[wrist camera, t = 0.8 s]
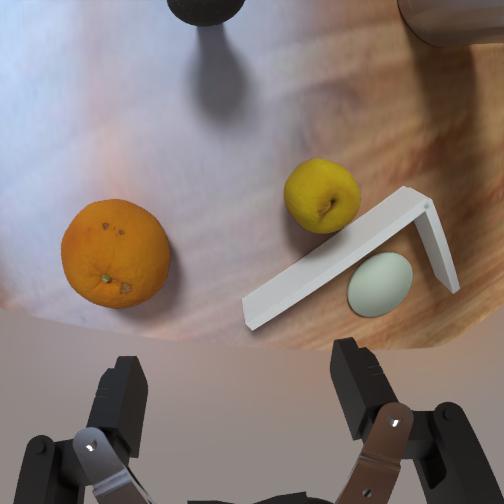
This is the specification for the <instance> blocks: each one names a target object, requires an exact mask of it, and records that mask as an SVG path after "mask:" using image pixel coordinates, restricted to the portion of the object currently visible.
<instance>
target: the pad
mask: <svg viewBox="0 0 504 504" xmlns="http://www.w3.org/2000/svg"><path fill="white" fill-rule="evenodd" d="M412 278H413V274H412V268H411V266H410V264H409V262H408V261H407V260H406V259H405V258H404V257H403V256H402V255H400V254H398V253H395V252H381V253H378V254H375V255H373V256H371V257H369V258H368V259H366V260H365V261H364V262H362V263H361V264H360V265H359V266H358V267H357V269H356V270H355V271H354V273H353V274H352V276H351V278H350V280H349V283H348V287H347V298H348V301H349V304H350V305H351V307H352V309H353V310H354V311H355V312H356V313H358V314H359V315H362V316H366V317H376V316H380V315H383V314H386V313H388V312H390V311H391V310H393V309H394V308H395V307H397V306H398V305H399V304H400V303H401V302H402V301H403V299H404V298H405V297H406V295H407V293H408V292H409V289H410V287H411V284H412Z"/></svg>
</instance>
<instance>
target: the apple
mask: <svg viewBox="0 0 504 504" xmlns="http://www.w3.org/2000/svg"><path fill="white" fill-rule="evenodd" d="M284 200H285V204H286V206H287V208H288V210H289V212H290V213H291V215H292V216H293V217H294V218H295V220H296V221H297V222H298V223H299V224H300V225H301V226H302V227H304V228H305V229H307V230H308V231H311V232H314V233H321V234H325V233H331V232H335V231H337V230H339V229H341V228H342V227H344V226H345V225H347V224H348V223H350V222H351V221H352V219H353V218H354V217H355V216H356V214H357V212H358V210H359V207H360V202H361V196H360V190H359V187H358V185H357V182H356V181H355V179H354V178H353V176H352V175H351V173H349V172H348V171H347V170H346V169H345V168H344V167H342V166H341V165H339V164H337V163H335V162H332V161H328V160H324V159H311V160H308V161H306V162H304V163H302V164H300V165H299V166H298V167H296V169H295V170H294V171H293V173H292V174H291V175H290V176H289V178H288V179H287V181H286V183H285V187H284Z"/></svg>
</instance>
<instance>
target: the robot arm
mask: <svg viewBox="0 0 504 504" xmlns="http://www.w3.org/2000/svg"><path fill="white" fill-rule="evenodd" d="M398 4H399V8H400V11H401V13H402V16H403V17H404V19H405V21H406V23H407V24H408V25H409V27H410V28H411V30H412V31H413V32H414V33H415V34H416V35H417V36H418V37H420V38H421V39H422V40H424V41H425V42H427V43H429V44H431V45H434V46H437V47H449V46H458V45H472V44H488V43H504V0H398ZM330 374H331V378H332V381H333V384H334V387H335V389H336V392H337V395H338V398H339V401H340V404H341V406H342V409H343V412H344V415H345V418H346V421H347V424H348V427H349V430H350V432H351V435H352V438H353V440H358V439H362V441H363V444H364V446H363V448H362V450H361V452H360V454H359V457H358V459H357V461H356V463H355V465H354V468H353V469H352V472H351V474H350V476H349V477H348V479H347V482H346V483H345V485H344V487H343V489H342V491H341V493H340V494H339V496H338V498H337V500H336V502H335V504H387V503H388V500H389V498H390V496H391V493H392V490H393V488H394V485H395V483H396V481H397V478H398V475H399V472H400V469H401V466H400V461H401V459H413V462H414V465H415V467H416V470H417V473H418V476H419V479H420V482H421V485H422V488H423V491H424V494H425V497H426V501H427V504H504V498H503V496H502V494H501V491H500V488H499V486H498V483H497V481H496V479H495V476H494V474H493V472H492V469H491V467H490V465H489V463H488V460H487V458H486V456H485V454H484V452H483V449H482V447H481V445H480V443H479V441H478V439H477V437H476V435H475V433H474V431H473V429H472V427H471V425H470V423H469V421H468V419H467V417H466V415H465V413H464V411H463V409H462V408H461V407H460V406H458V405H457V404H455V403H452V402H444V403H441V404H439V405H438V406H437V407H436V408H435V410H434V411H413V410H410V408H409V407H407V406H406V405H404V404H402V403H399V401H398V399H397V398H396V396H395V394H394V392H393V390H392V388H391V386H390V384H389V382H388V380H387V378H386V376H385V374H384V373H383V370H382V368H381V366H379V362H378V360H377V359H376V357H375V355H374V354H373V353H372V352H371V351H370V350H368V349H367V348H366V347H364V348H358V346H357V344H356V342H355V340H354V338H353V337H350V338H343V339H337V340H334V343H333V349H332V356H331V362H330ZM147 396H148V385H147V380H146V377H145V375H144V373H143V370H142V367H141V365H140V362H139V360H138V358H137V357H136V356H119V357H118V358H117V361H116V364H115V368H112V369H111V368H108V369H107V371H106V372H105V373H104V374H103V375H102V377H101V379H100V382H99V385H98V390H97V392H96V397H95V398H94V402H93V405H92V409H91V412H90V416H89V419H88V423H87V426H86V428H84V429H82V430H80V431H79V432H78V433H77V434H76V435H75V437H74V439H70V440H65V441H59V442H53V440H52V439H51V438H49V437H48V436H45V435H38V436H36V437H34V438H32V439H31V440H30V441H29V443H28V444H27V447H26V451H25V455H24V458H23V463H22V466H21V470H20V474H19V479H18V483H17V488H16V493H15V498H14V503H13V504H83V503H84V494H85V486H88V485H92V486H93V488H94V490H93V494H94V496H95V498H96V500H97V502H98V503H99V504H156V502H155V501H154V500H153V499H152V498H151V496H150V495H149V494H148V492H147V491H146V490H145V488H144V487H143V486H142V484H141V483H140V481H139V480H138V479H137V477H136V476H135V474H134V473H133V471H132V470H131V469H130V467H129V466H128V463H129V457H132V458H138V456H139V448H140V441H141V433H142V427H143V421H144V414H145V407H146V402H147ZM188 504H233V503H227V502H222V501H188ZM254 504H334V503H331V502H329V501H326V500H323V499H319V498H312V497H307V496H306V492H299V493H293V494H286V495H279V496H275V497H272V498H269V499H266V500H263V501H260V502H257V503H254Z"/></svg>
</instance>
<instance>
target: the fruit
mask: <svg viewBox="0 0 504 504" xmlns="http://www.w3.org/2000/svg"><path fill="white" fill-rule="evenodd" d="M170 254H171V253H170V246H169V242H168V239H167V236H166V234H165V231H164V229H163V228H162V226H161V224H160V223H159V221H158V220H157V219H156V218H155V217H154V216H153V215H152V214H150V213H149V212H148V211H146V210H145V209H143V208H141V207H139V206H137V205H135V204H133V203H131V202H128V201H125V200H120V199H110V200H104V201H97V202H94V203H91V204H89V205H88V206H86V207H85V208H84V209H83V210H81V211H80V212H79V213H78V214H77V216H76V217H75V218H74V219H73V221H72V222H71V224H70V225H69V227H68V229H67V230H66V232H65V234H64V236H63V239H62V243H61V257H62V264H63V269H64V273H65V275H66V278H67V280H68V282H69V284H70V285H71V287H72V288H73V289H74V290H75V291H76V292H77V293H78V294H80V295H81V296H82V297H84V298H85V299H87V300H88V301H90V302H92V303H94V304H97V305H100V306H104V307H108V308H114V309H120V308H127V307H130V306H134V305H137V304H140V303H142V302H144V301H146V300H148V299H149V298H150V297H152V296H153V295H154V294H155V293H156V292H157V291H158V290H159V289H160V288H161V287H162V286H163V284H164V282H165V280H166V278H167V274H168V270H169V266H170Z"/></svg>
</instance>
